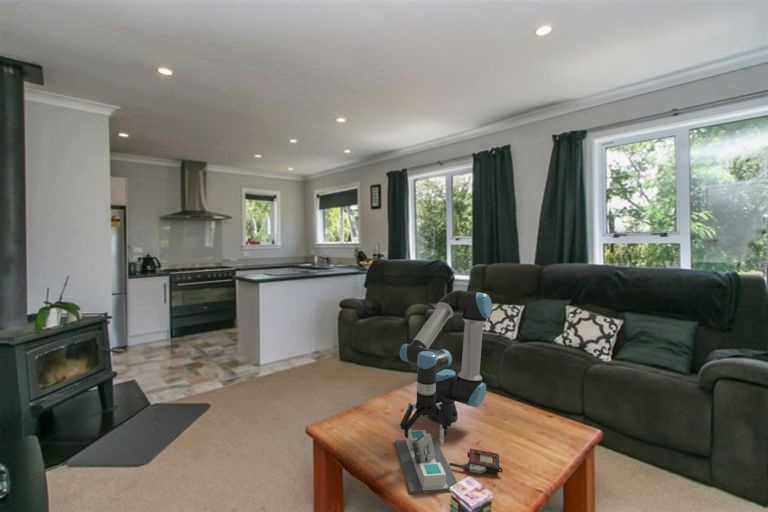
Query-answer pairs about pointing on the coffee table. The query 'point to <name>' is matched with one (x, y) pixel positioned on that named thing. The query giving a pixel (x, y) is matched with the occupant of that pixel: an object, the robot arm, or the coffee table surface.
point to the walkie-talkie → (481, 462)
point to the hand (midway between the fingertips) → (425, 444)
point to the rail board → (412, 470)
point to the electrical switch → (423, 449)
